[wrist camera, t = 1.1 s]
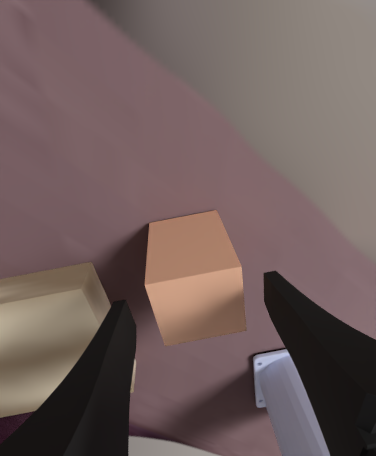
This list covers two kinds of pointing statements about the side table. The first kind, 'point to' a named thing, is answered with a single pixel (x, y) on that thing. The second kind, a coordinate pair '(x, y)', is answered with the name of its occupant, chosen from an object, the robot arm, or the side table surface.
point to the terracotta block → (194, 279)
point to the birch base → (46, 331)
